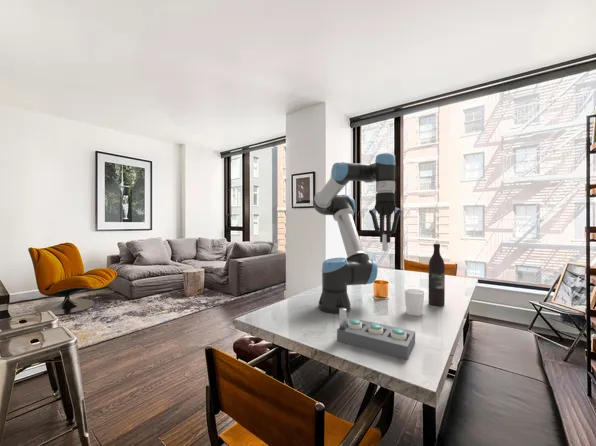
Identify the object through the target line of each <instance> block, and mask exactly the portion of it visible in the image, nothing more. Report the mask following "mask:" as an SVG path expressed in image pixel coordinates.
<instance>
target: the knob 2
mask: <svg viewBox="0 0 596 446" xmlns="http://www.w3.org/2000/svg"><path fill="white" fill-rule="evenodd" d="M397 328H398V327H397ZM397 328H396V329H392V330H391V338H394V339H399V340H403V341H406V332H405V331H404V330H402V329H403V328H402V329H397Z"/></svg>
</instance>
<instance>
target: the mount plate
mask: <svg viewBox="0 0 596 446" xmlns="http://www.w3.org/2000/svg"><path fill="white" fill-rule="evenodd" d="M352 319H356V320H360V321H361V322H362V329H361V330H356V329H352V328H348V321H350V320H352ZM370 324H379V325H381V326H382V327H383V335H377V334H373V333H369V325H370ZM396 328H397V329H402V330H404V331H405V332H406V341H403V340H399V339H394V338H391V330H392V329H396ZM336 341H337V342H339V343H344V344H349V345H351V346H355V347H358V348H362V349H366V350H370V351H373V352H378V353H381V354H383V355H388V356H391V357H396V358H399V359H402V360H406V361H408V360H409V358H410V355H411V353H412V351H413V349H414V346H415V344H416V330H415V331H414V330H411V329H410V330H409V329H407V328H402V327H396V326H391V325H387V324H382V323H378V322H372V321H370V320H369V321H368V320H365V319H359V318H354V317H350V318H349V319H348V320H346V330H340V329H339V327H338V328H337V329H336Z"/></svg>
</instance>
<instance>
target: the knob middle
mask: <svg viewBox="0 0 596 446" xmlns="http://www.w3.org/2000/svg"><path fill="white" fill-rule="evenodd" d="M379 324H380V323H379ZM379 324H370V325H369V333H373V334H377V335H383V327H382V326H381V325H379Z"/></svg>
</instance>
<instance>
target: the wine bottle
mask: <svg viewBox="0 0 596 446" xmlns="http://www.w3.org/2000/svg"><path fill="white" fill-rule="evenodd" d="M432 245H433V253H432V255H431V256H430V259H429V261H428V304H429V305H431V306H433V307H438V308H439V307H444V306H445V298H446V297H445V295H446V292H445V291H446V287H445V286H446V285H445V284H446V283H445V282H446V280H445V279H446V277H445V276H446V271H445V270H446V265H445V261H444V258H443V257H442V255H441V253H440V251H441V249H440V248H441V245H440V243H433V244H432Z"/></svg>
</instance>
